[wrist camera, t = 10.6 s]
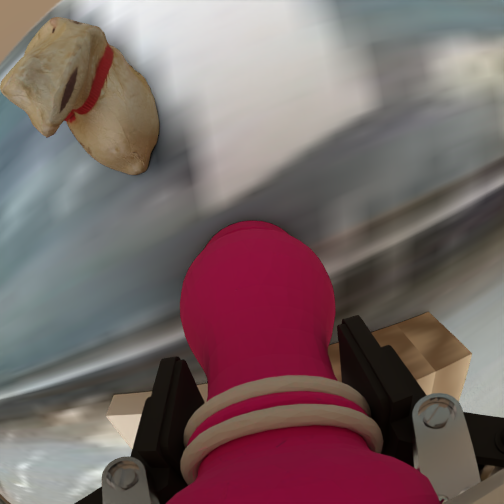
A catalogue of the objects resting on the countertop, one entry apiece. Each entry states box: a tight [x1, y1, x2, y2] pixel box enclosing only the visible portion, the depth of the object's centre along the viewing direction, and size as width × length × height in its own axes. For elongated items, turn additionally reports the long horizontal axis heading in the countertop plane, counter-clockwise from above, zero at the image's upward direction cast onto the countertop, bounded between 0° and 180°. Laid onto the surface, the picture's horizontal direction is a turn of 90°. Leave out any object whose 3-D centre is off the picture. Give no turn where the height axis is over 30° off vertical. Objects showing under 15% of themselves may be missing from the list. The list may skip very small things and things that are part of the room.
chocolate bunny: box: [0, 17, 159, 175], centre depth 10 cm, size 6×8×10 cm
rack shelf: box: [106, 383, 208, 449], centre depth 22 cm, size 12×12×2 cm
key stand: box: [328, 312, 472, 401], centre depth 20 cm, size 10×10×6 cm
